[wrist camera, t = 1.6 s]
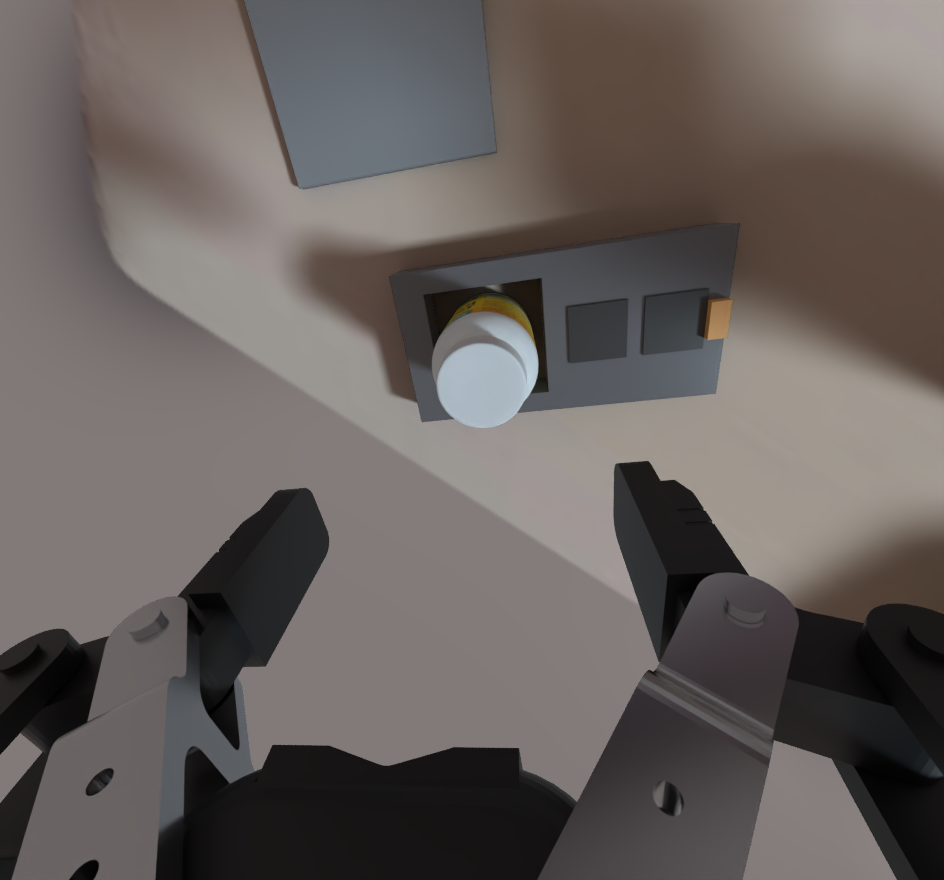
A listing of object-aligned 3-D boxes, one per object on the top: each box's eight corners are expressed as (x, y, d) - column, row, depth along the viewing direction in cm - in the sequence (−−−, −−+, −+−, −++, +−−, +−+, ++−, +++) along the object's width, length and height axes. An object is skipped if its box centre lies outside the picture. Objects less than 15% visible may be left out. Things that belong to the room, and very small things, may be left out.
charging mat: (464, -173, 17) (463, -187, 16) (496, 152, 22) (496, 151, 21) (221, -98, 18) (212, -108, 18) (303, 189, 23) (299, 188, 23)
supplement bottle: (505, 388, 28) (502, 461, 19) (435, 350, 27) (400, 410, 19) (549, 317, 25) (567, 366, 17) (473, 273, 25) (453, 302, 16)
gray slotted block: (717, 222, 22) (745, 223, 20) (699, 379, 26) (720, 397, 24) (399, 271, 25) (386, 277, 22) (428, 406, 29) (419, 426, 26)
